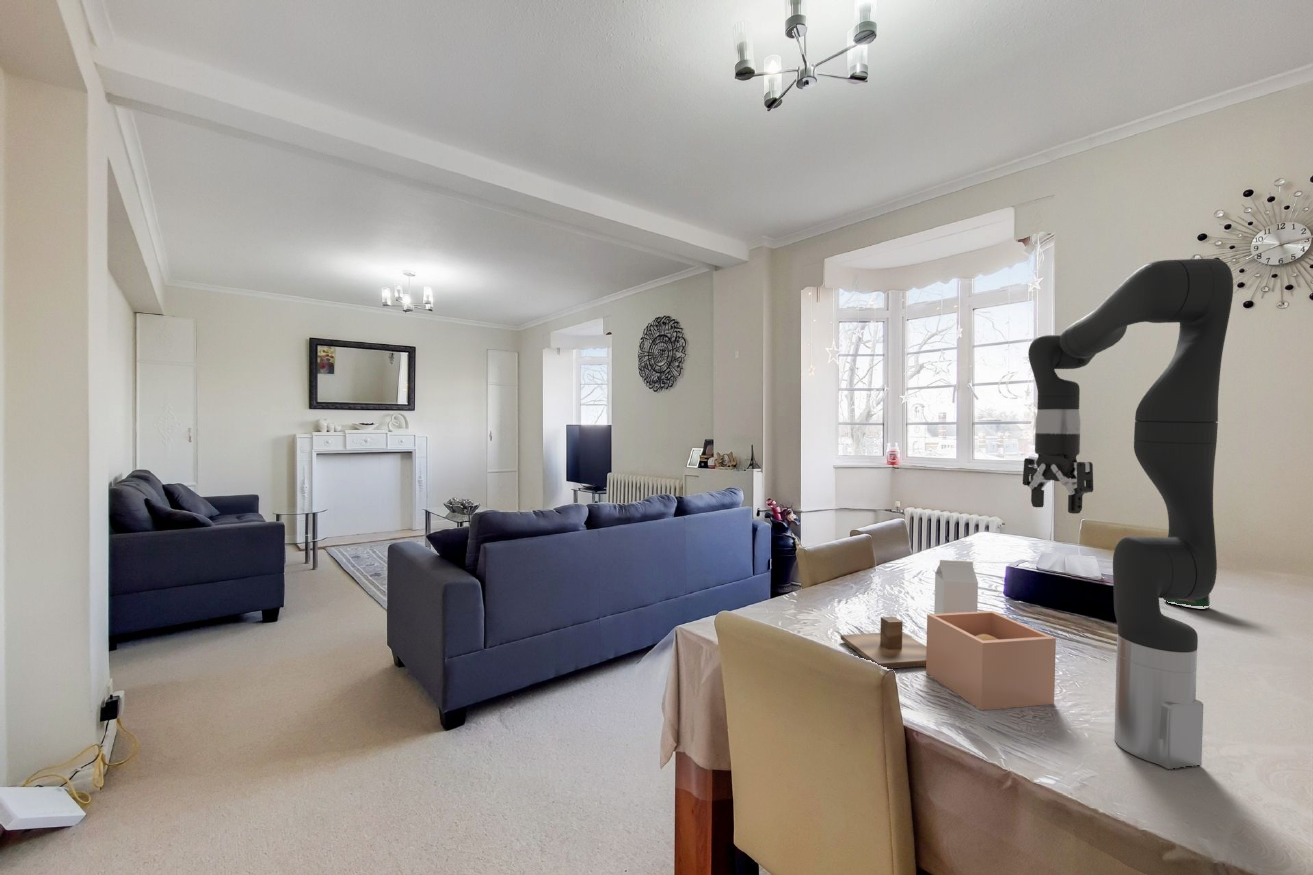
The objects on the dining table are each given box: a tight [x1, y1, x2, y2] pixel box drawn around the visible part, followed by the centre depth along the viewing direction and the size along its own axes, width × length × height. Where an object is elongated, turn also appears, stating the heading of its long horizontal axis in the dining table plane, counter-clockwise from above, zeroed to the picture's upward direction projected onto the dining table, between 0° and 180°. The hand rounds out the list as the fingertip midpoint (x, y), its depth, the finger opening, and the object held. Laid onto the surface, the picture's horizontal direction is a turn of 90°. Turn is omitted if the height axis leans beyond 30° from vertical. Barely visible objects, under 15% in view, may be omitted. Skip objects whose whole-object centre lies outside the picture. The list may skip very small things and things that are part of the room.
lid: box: [840, 616, 927, 669], centre depth 122 cm, size 16×16×7 cm
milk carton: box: [933, 559, 979, 614], centre depth 129 cm, size 7×7×19 cm
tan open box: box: [925, 610, 1057, 711], centre depth 107 cm, size 15×15×12 cm
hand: (1055, 510), depth 115 cm, fingers open, 8 cm apart
